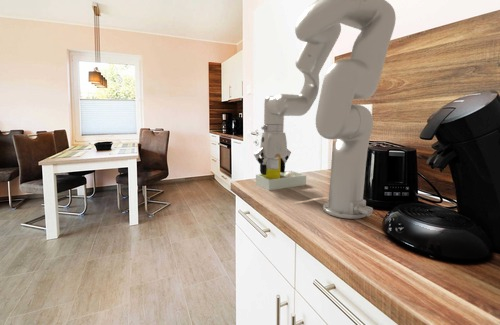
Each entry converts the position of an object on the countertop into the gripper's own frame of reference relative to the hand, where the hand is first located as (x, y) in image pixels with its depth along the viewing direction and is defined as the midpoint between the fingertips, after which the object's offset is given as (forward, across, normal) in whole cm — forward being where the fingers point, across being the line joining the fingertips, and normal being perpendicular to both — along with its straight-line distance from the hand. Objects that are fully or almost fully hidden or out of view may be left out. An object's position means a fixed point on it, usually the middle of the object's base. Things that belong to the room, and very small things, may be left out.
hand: (272, 172), depth 104 cm
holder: (+6, +4, 0) cm, 7 cm away
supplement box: (+3, 0, 0) cm, 3 cm away
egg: (+5, +9, 0) cm, 10 cm away
